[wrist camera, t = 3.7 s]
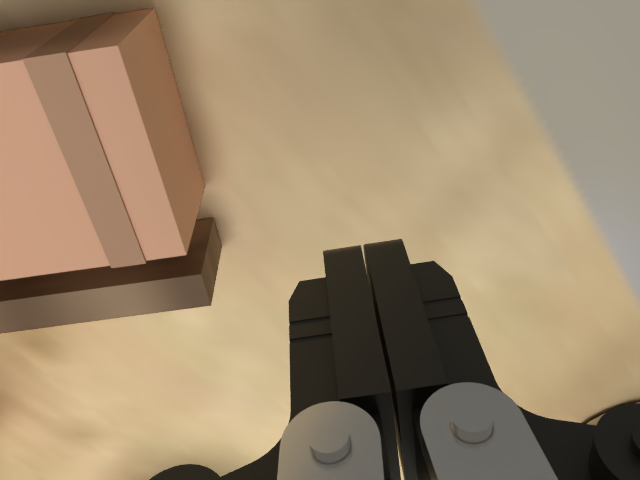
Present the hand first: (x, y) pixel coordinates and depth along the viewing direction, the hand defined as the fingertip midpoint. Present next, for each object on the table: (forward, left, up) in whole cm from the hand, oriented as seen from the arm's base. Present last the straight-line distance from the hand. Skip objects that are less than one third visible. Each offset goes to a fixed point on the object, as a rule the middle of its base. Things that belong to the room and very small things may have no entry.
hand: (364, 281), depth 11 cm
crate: (+11, 0, -12) cm, 16 cm away
